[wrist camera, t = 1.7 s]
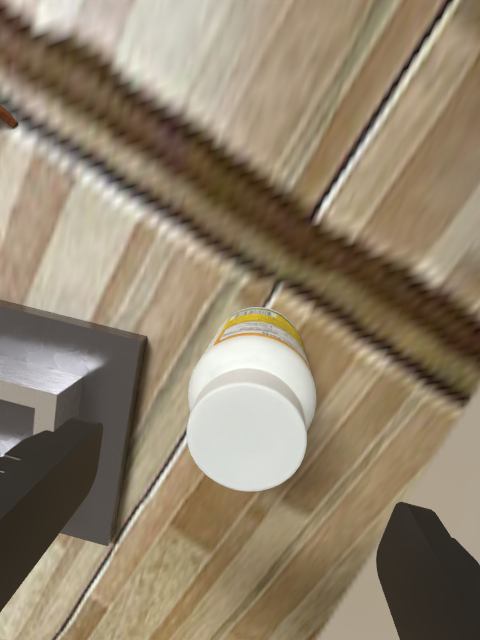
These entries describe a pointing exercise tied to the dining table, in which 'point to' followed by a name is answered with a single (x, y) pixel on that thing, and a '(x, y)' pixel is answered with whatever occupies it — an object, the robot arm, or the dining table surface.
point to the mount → (71, 396)
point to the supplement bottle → (251, 402)
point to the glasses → (7, 117)
